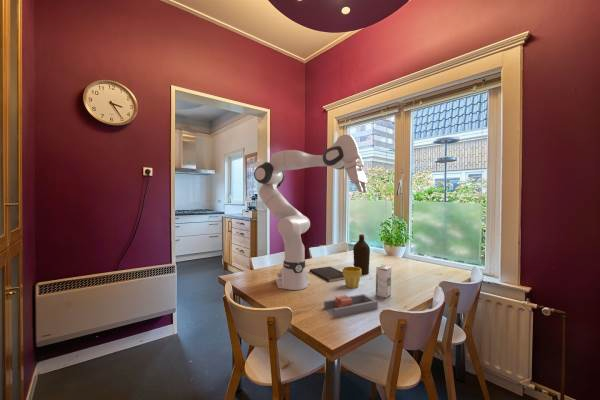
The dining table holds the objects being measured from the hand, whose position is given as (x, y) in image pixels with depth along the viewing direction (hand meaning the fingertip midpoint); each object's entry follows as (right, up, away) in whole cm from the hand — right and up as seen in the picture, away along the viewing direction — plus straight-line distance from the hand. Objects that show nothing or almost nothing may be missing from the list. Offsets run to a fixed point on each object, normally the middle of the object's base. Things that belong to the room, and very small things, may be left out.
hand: (363, 192), depth 122 cm
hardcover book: (-12, -52, +37) cm, 65 cm away
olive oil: (+10, -52, +43) cm, 68 cm away
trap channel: (-9, -52, -14) cm, 54 cm away
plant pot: (-2, -52, +17) cm, 54 cm away
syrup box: (+11, -52, +4) cm, 53 cm away
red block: (-12, -51, -15) cm, 54 cm away
